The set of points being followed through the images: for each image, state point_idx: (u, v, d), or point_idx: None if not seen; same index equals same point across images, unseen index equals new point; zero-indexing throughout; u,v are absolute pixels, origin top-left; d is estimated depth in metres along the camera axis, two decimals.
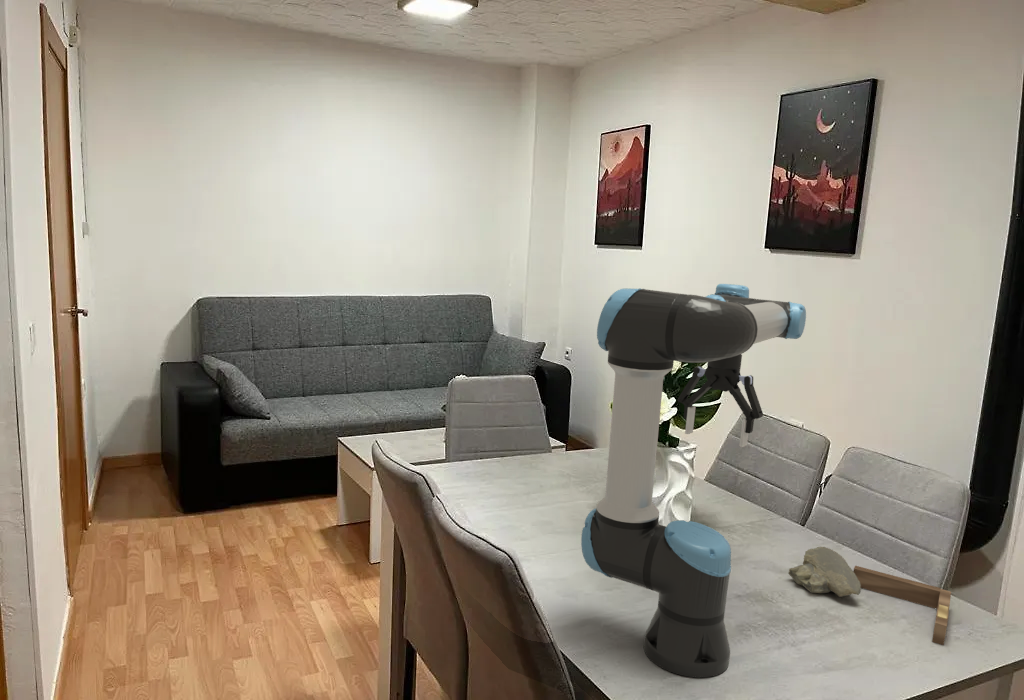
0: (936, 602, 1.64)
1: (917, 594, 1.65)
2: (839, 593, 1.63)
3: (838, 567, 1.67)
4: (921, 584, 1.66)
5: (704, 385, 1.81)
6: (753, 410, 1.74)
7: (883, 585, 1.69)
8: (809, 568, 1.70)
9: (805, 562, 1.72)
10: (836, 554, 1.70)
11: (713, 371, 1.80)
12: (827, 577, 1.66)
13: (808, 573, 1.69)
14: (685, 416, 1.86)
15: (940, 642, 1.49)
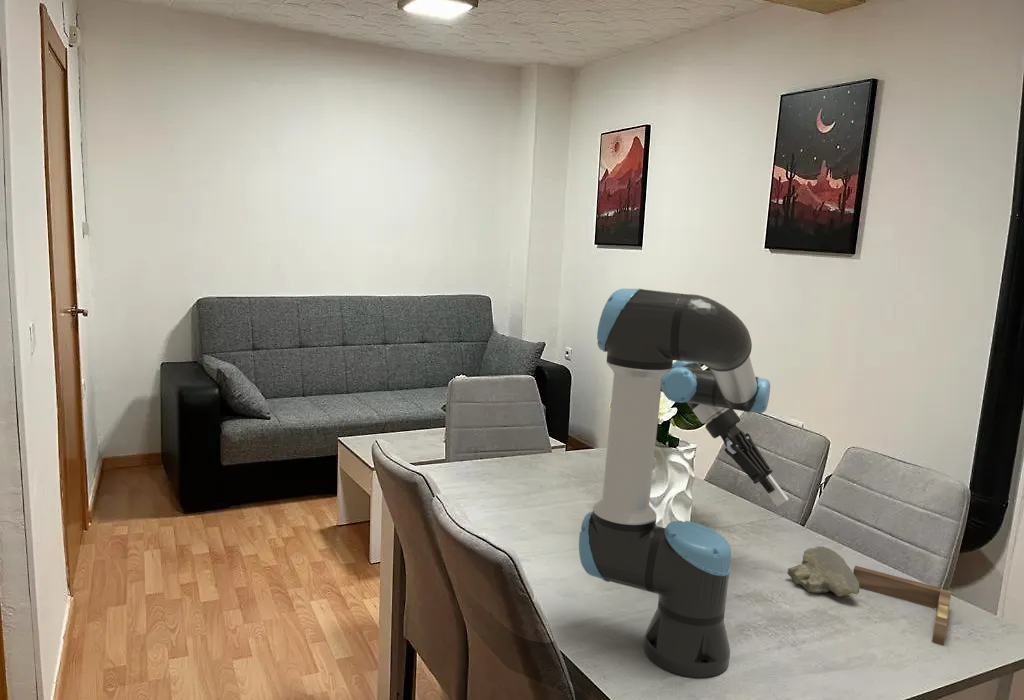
0: (936, 602, 1.64)
1: (917, 594, 1.65)
2: (838, 593, 1.63)
3: (837, 567, 1.67)
4: (921, 584, 1.66)
5: None
6: None
7: (883, 585, 1.69)
8: (808, 568, 1.70)
9: (804, 562, 1.72)
10: (835, 554, 1.70)
11: None
12: (826, 577, 1.66)
13: (807, 572, 1.69)
14: None
15: (940, 642, 1.49)
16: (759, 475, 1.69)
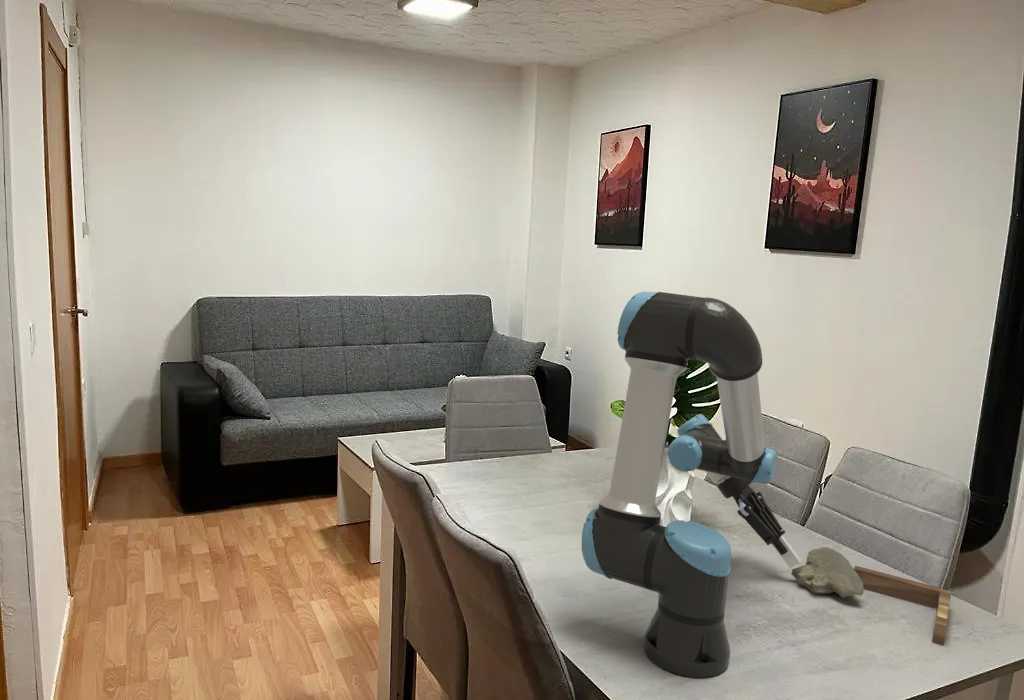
0: (936, 602, 1.64)
1: (917, 594, 1.65)
2: (842, 594, 1.63)
3: (841, 568, 1.66)
4: (921, 584, 1.66)
5: None
6: None
7: (883, 585, 1.69)
8: (812, 569, 1.69)
9: (808, 562, 1.72)
10: (839, 555, 1.69)
11: None
12: (830, 578, 1.66)
13: (811, 573, 1.68)
14: None
15: (940, 642, 1.49)
16: (772, 537, 1.70)
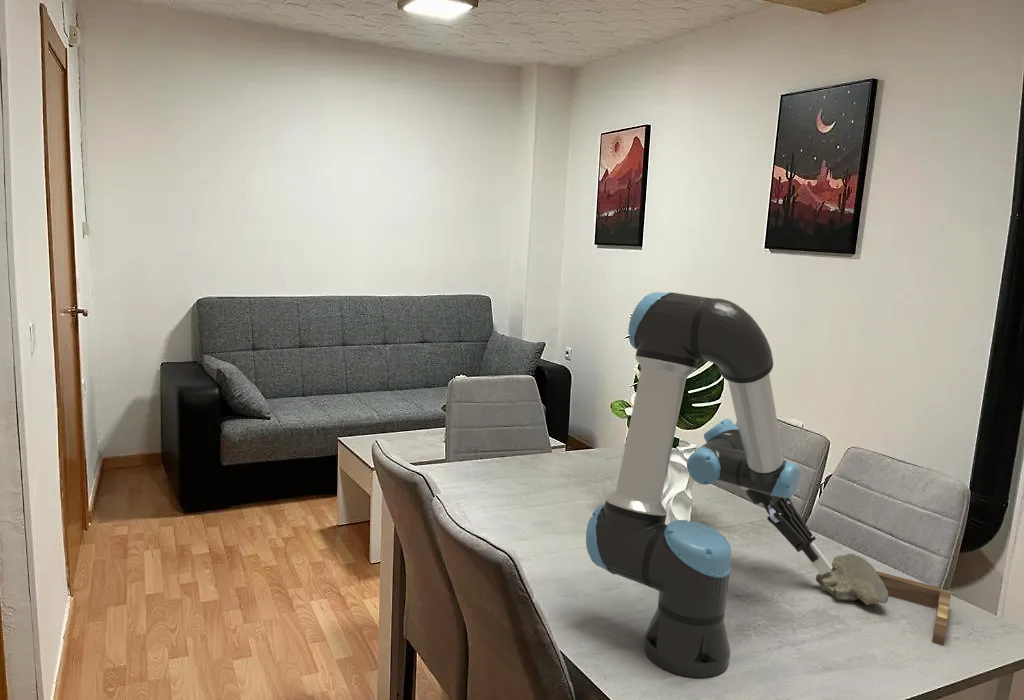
0: (936, 602, 1.64)
1: (917, 594, 1.65)
2: (865, 601, 1.60)
3: (866, 575, 1.64)
4: (921, 584, 1.66)
5: None
6: None
7: None
8: (836, 575, 1.67)
9: (833, 569, 1.70)
10: (865, 562, 1.67)
11: None
12: (854, 584, 1.63)
13: (835, 579, 1.66)
14: None
15: (940, 642, 1.49)
16: (803, 544, 1.66)
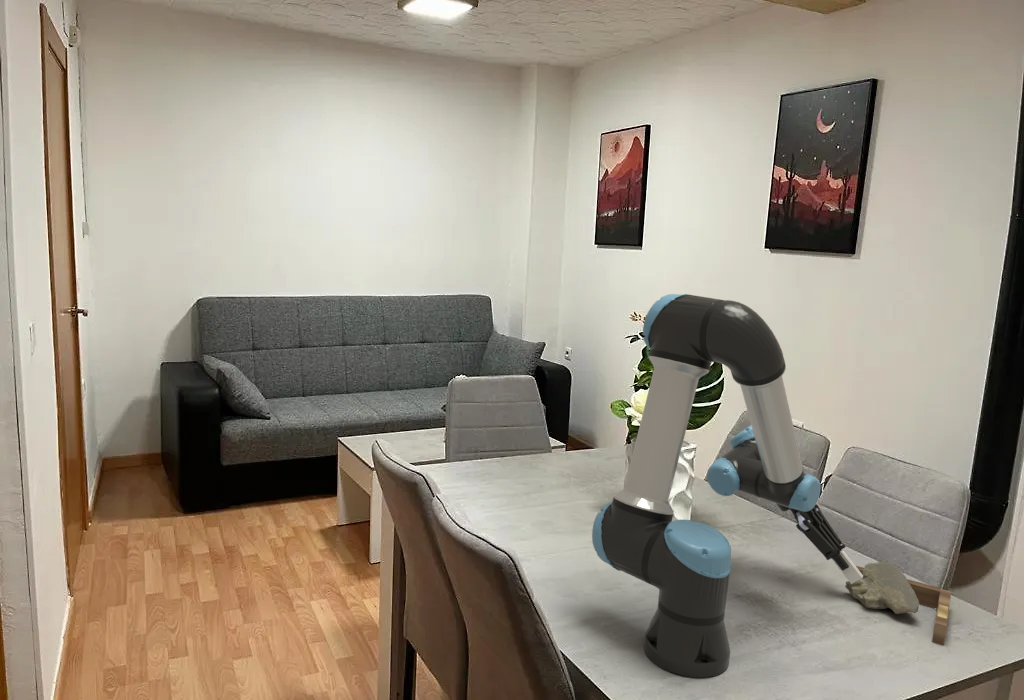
0: (936, 602, 1.64)
1: (917, 594, 1.65)
2: (895, 610, 1.57)
3: (896, 584, 1.60)
4: (921, 584, 1.66)
5: None
6: None
7: None
8: (866, 582, 1.64)
9: (863, 576, 1.67)
10: (896, 570, 1.63)
11: None
12: (883, 593, 1.60)
13: (864, 587, 1.63)
14: None
15: (940, 642, 1.49)
16: (833, 552, 1.63)
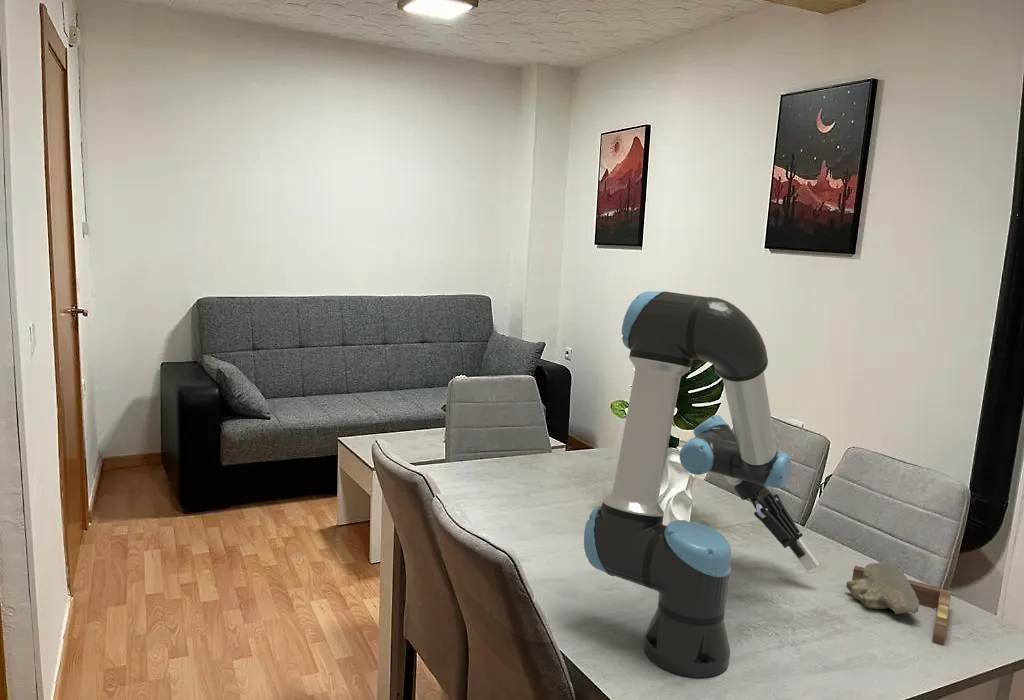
0: (936, 602, 1.64)
1: (917, 594, 1.65)
2: (895, 610, 1.57)
3: (897, 584, 1.60)
4: (921, 584, 1.66)
5: None
6: None
7: None
8: (867, 582, 1.64)
9: (864, 576, 1.67)
10: (897, 570, 1.63)
11: None
12: (884, 593, 1.60)
13: (865, 587, 1.63)
14: None
15: (940, 642, 1.49)
16: (789, 540, 1.67)
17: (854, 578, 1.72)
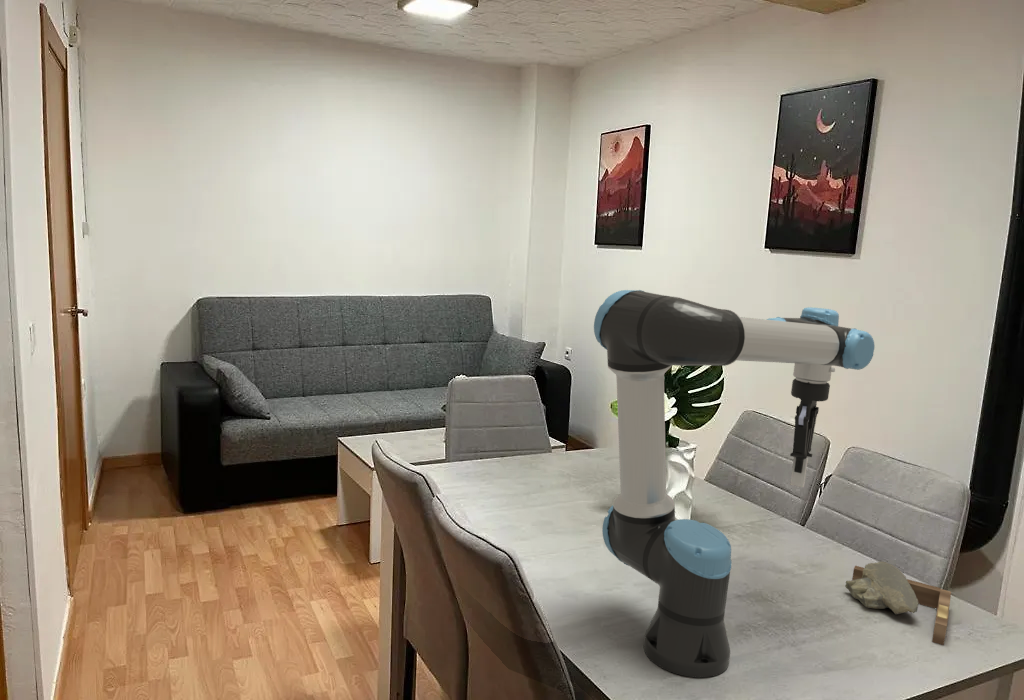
0: (936, 602, 1.64)
1: (917, 594, 1.65)
2: (894, 610, 1.57)
3: (896, 584, 1.60)
4: (921, 584, 1.66)
5: None
6: None
7: None
8: (866, 582, 1.64)
9: (864, 576, 1.67)
10: (897, 570, 1.63)
11: None
12: (883, 592, 1.60)
13: (864, 587, 1.64)
14: None
15: (940, 642, 1.49)
16: (802, 455, 1.64)
17: (854, 578, 1.72)
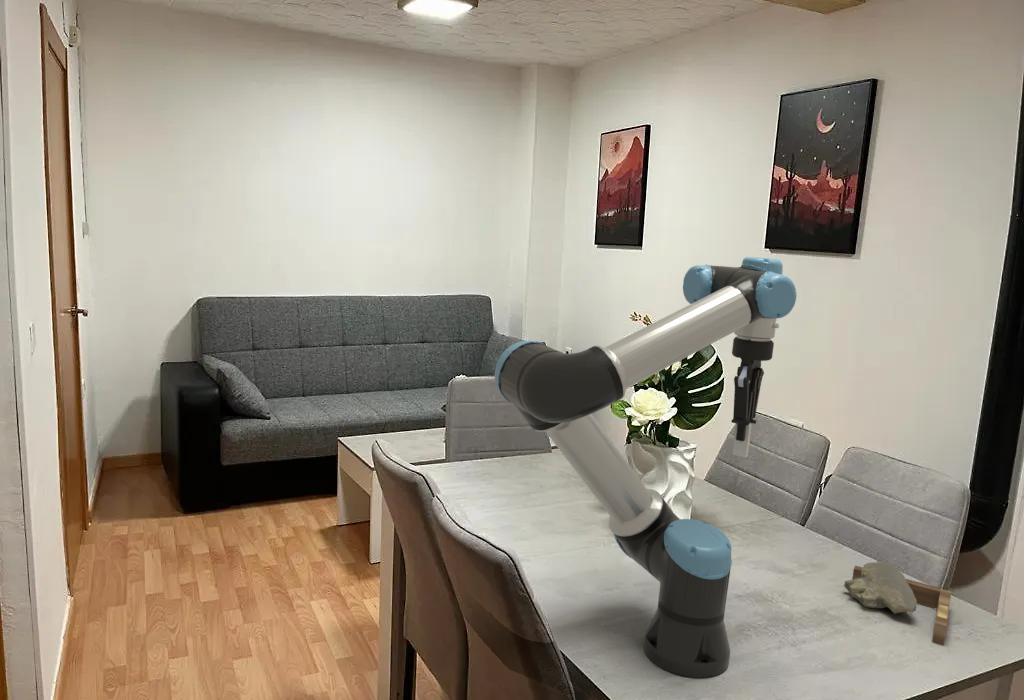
0: (936, 602, 1.64)
1: (917, 594, 1.65)
2: (892, 609, 1.58)
3: (895, 583, 1.61)
4: (921, 584, 1.66)
5: None
6: None
7: None
8: (865, 582, 1.65)
9: (862, 576, 1.67)
10: (895, 570, 1.64)
11: None
12: (881, 592, 1.61)
13: (863, 586, 1.64)
14: None
15: (940, 642, 1.49)
16: (743, 421, 1.48)
17: (854, 578, 1.72)
